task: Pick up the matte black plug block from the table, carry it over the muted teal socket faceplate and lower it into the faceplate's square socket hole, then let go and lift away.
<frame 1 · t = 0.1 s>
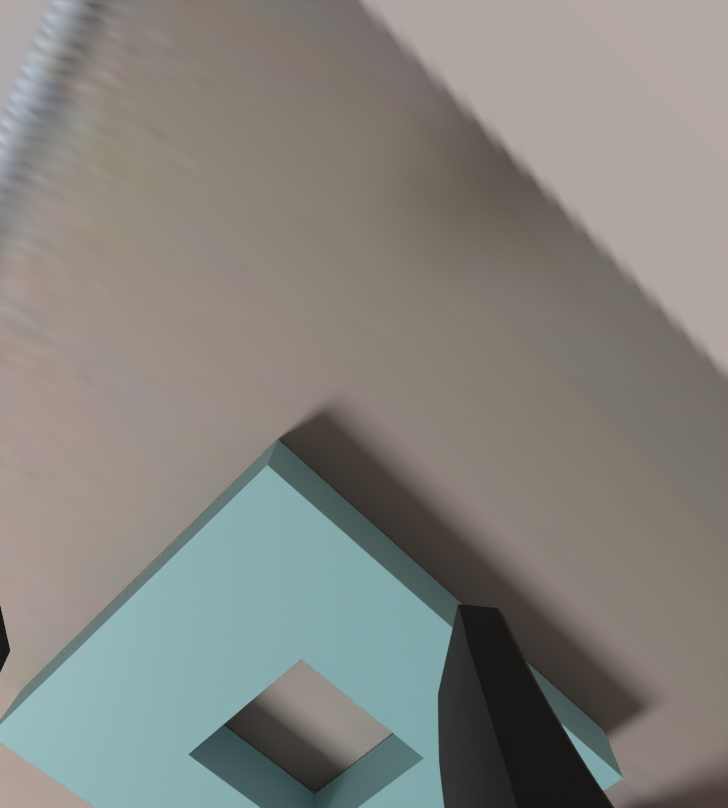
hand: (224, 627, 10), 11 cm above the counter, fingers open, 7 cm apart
socket plate: (311, 711, 24), on the counter
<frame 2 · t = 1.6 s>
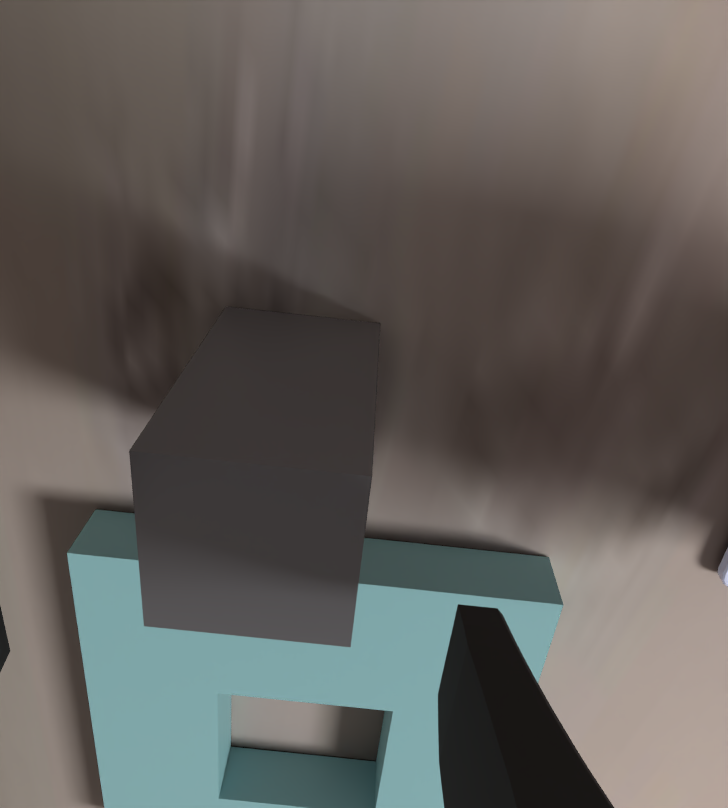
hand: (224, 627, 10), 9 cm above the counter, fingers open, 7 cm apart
socket plate: (307, 705, 24), on the counter
plug: (299, 384, 18), on the counter
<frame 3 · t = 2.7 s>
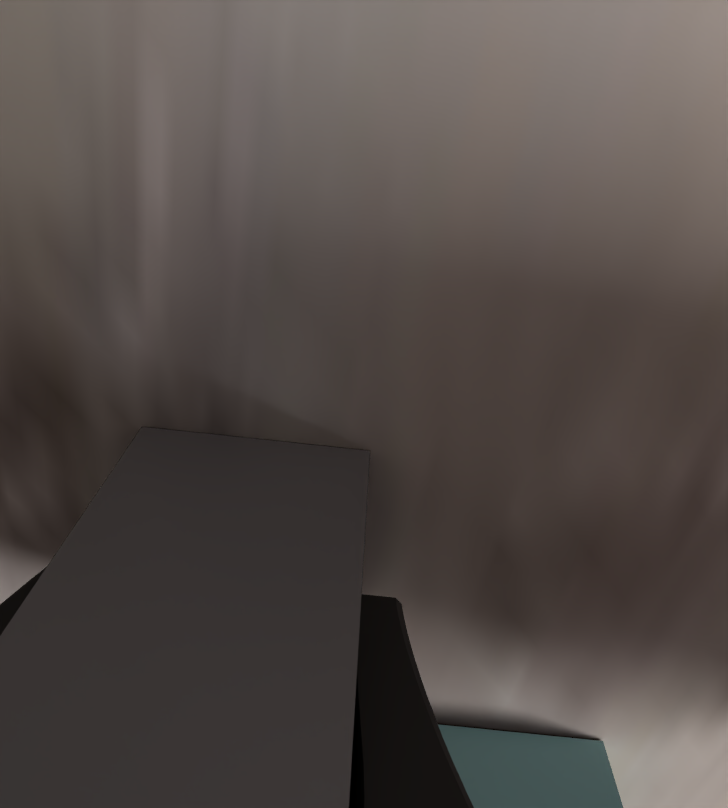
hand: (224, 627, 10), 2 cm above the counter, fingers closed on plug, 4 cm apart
plug: (253, 529, 12), on the counter, touching gripper
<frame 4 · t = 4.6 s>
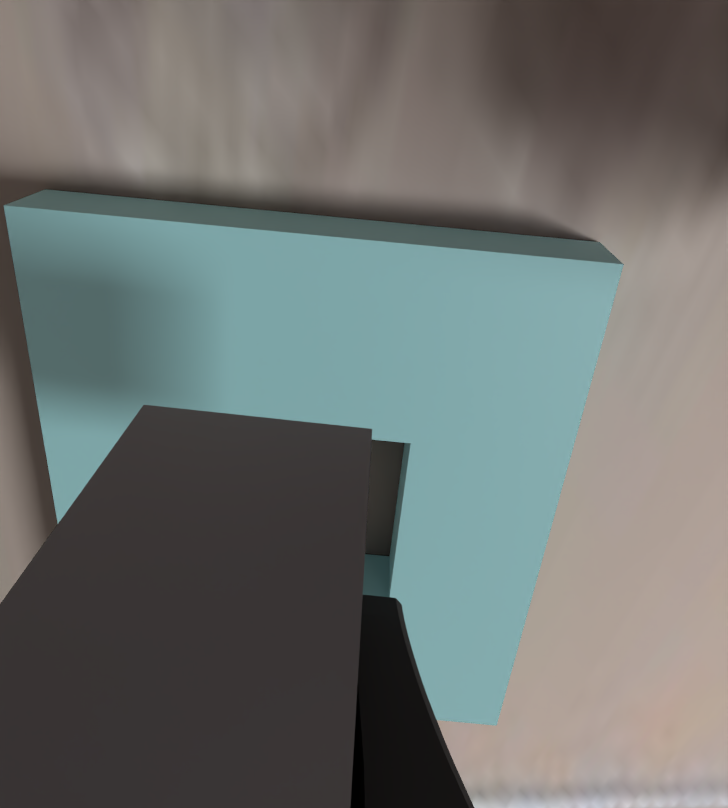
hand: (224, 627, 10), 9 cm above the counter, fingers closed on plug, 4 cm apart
socket plate: (308, 478, 20), on the counter
plug: (255, 508, 12), point 7 cm above the counter, touching gripper
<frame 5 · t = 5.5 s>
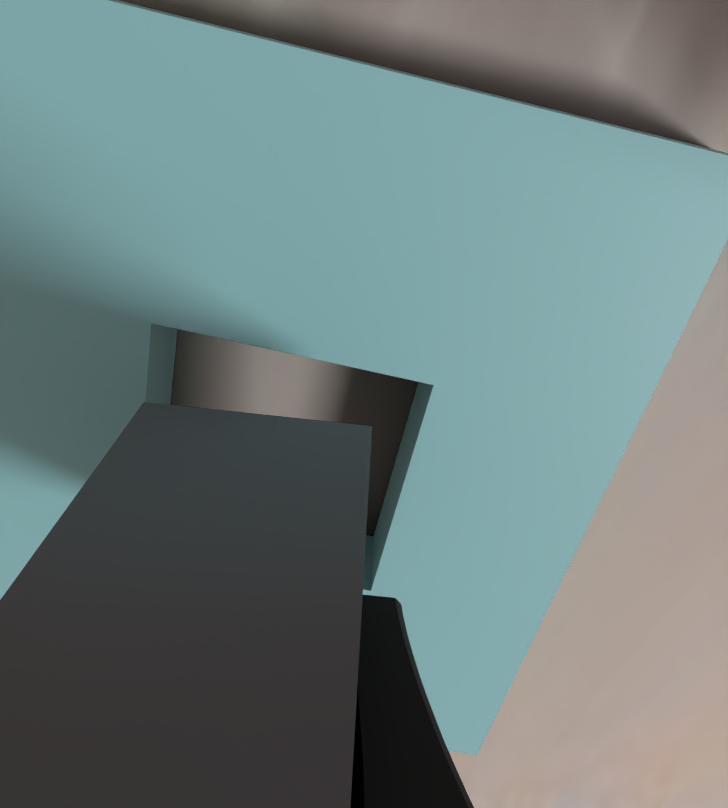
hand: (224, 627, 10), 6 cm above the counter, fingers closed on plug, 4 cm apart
socket plate: (286, 424, 16), on the counter
plug: (255, 506, 12), point 4 cm above the counter, touching gripper
when the fingers open (3 cm above the counter, at t = 6.4 s): plug stays where it is, resting in socket plate.
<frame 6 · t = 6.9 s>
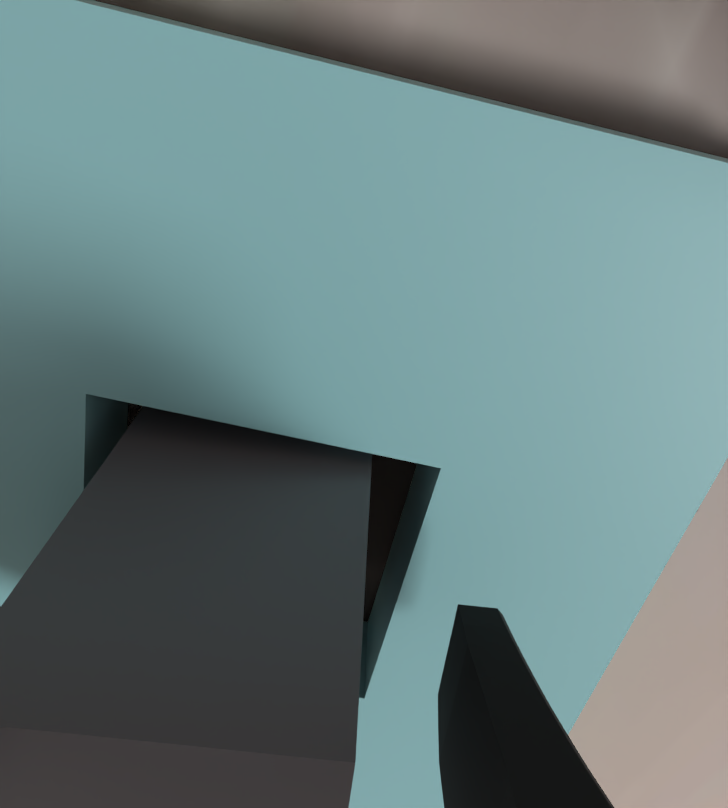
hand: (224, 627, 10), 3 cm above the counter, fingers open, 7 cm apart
socket plate: (263, 498, 13), on the counter
plug: (264, 482, 13), resting in socket plate
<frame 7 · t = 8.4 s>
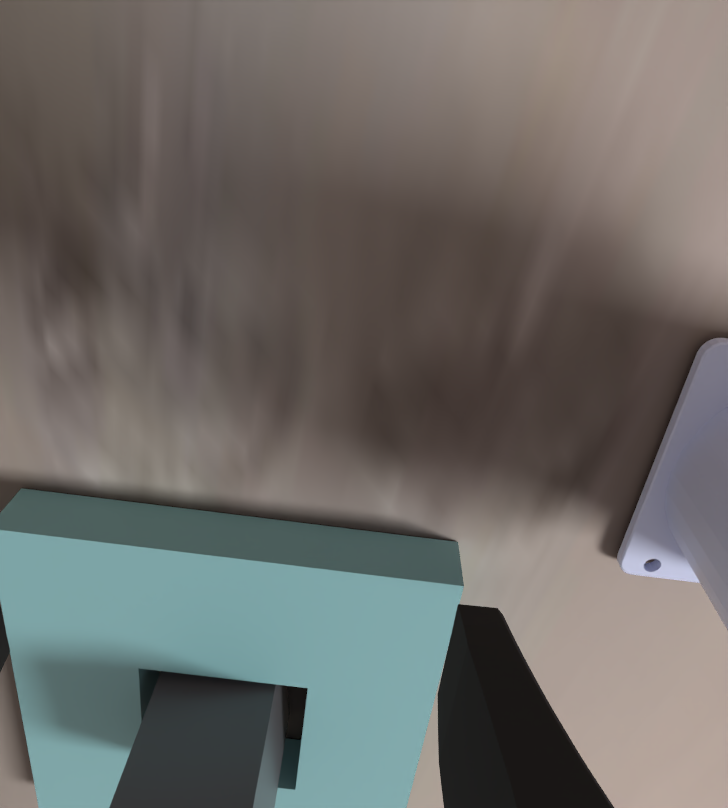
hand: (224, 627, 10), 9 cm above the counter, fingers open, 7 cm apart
socket plate: (233, 684, 25), on the counter
plug: (233, 676, 25), resting in socket plate
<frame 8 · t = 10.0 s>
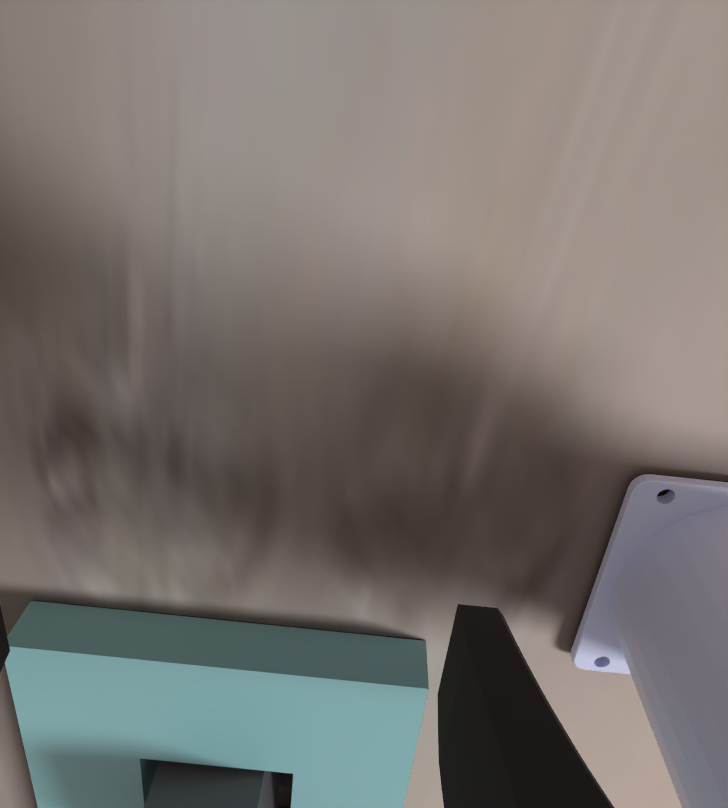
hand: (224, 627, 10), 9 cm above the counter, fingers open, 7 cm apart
socket plate: (228, 761, 27), on the counter
plug: (228, 755, 27), resting in socket plate
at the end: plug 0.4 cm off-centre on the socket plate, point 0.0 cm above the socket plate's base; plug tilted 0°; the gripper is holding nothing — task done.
